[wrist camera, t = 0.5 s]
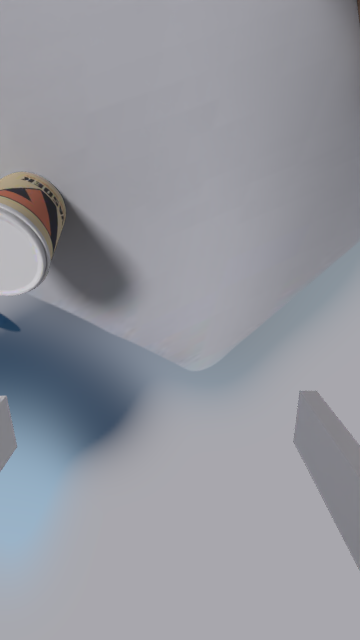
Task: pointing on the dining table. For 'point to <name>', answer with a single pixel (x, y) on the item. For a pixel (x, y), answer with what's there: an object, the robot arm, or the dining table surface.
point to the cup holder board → (359, 2)
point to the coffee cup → (27, 230)
